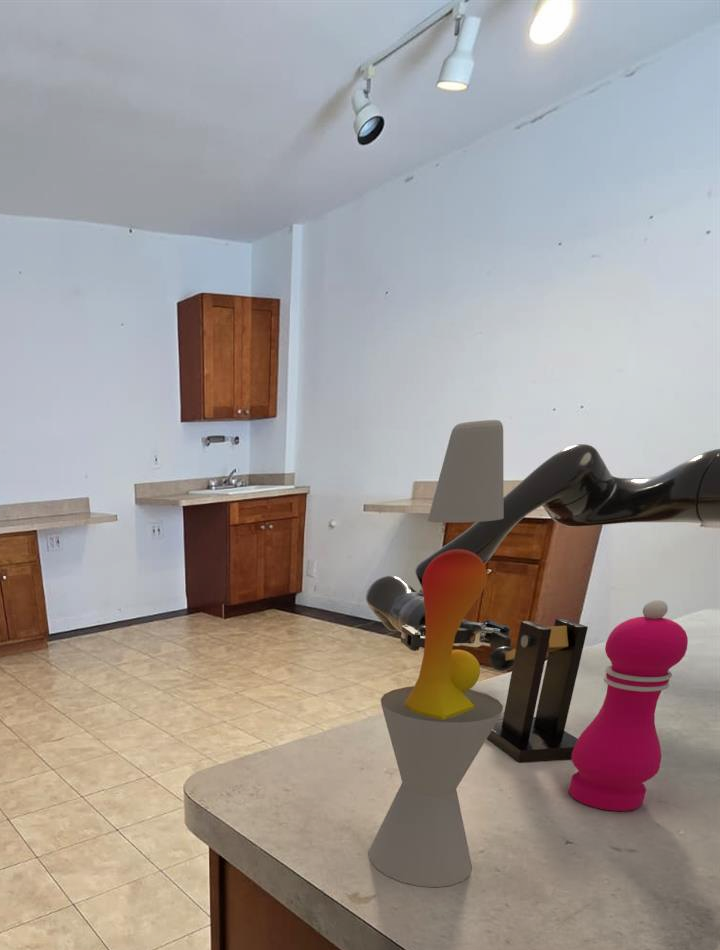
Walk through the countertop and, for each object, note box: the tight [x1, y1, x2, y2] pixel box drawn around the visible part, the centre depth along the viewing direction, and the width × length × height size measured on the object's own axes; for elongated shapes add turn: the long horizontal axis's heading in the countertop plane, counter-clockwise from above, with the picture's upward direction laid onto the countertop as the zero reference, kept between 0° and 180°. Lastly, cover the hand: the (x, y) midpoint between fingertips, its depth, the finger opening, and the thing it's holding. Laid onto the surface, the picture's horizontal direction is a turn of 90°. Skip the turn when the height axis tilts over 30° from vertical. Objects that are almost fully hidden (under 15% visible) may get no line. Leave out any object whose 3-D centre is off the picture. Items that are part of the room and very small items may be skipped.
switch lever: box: [488, 625, 568, 672], centre depth 78 cm, size 13×3×3 cm, turn 0°
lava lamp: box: [367, 419, 505, 888], centre depth 50 cm, size 9×9×35 cm
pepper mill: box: [568, 599, 689, 812], centre depth 61 cm, size 7×7×20 cm
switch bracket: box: [486, 618, 589, 763], centre depth 75 cm, size 10×8×15 cm
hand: (476, 647), depth 90 cm, fingers open, 8 cm apart
